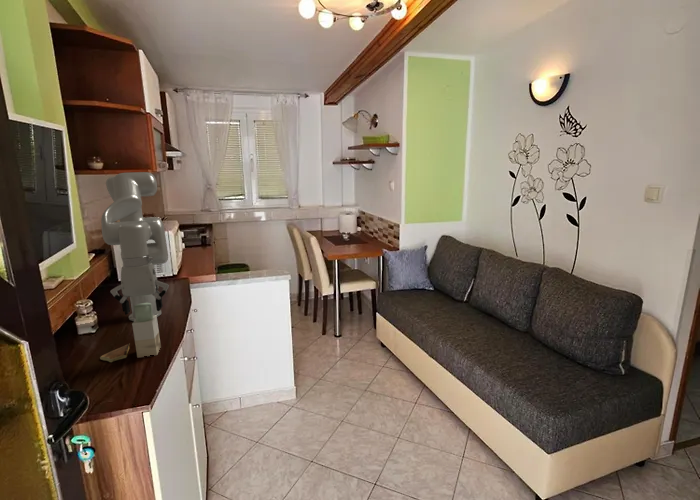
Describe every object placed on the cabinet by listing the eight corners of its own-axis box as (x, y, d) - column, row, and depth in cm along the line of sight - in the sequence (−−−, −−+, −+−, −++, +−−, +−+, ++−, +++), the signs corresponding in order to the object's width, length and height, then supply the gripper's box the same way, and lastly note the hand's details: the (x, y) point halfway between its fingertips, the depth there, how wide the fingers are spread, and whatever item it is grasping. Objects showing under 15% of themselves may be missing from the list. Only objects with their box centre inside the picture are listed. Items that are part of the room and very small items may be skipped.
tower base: (142, 350, 132) (139, 333, 131) (161, 347, 134) (158, 331, 132) (137, 357, 126) (134, 340, 125) (157, 355, 128) (154, 338, 127)
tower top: (139, 333, 131) (137, 317, 130) (158, 331, 132) (156, 315, 131) (134, 340, 125) (132, 323, 124) (154, 338, 127) (152, 321, 126)
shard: (130, 347, 136) (129, 342, 136) (144, 350, 133) (144, 345, 132) (99, 360, 126) (98, 355, 126) (114, 364, 123) (113, 359, 123)
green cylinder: (138, 317, 130) (136, 303, 129) (154, 315, 131) (152, 302, 130) (134, 322, 125) (132, 308, 124) (150, 321, 126) (148, 306, 125)
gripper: (167, 257, 130) (173, 305, 133) (110, 261, 125) (118, 310, 129) (162, 261, 122) (169, 312, 126) (102, 266, 118) (110, 318, 122)
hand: (143, 311), depth 127 cm, fingers open, 9 cm apart
